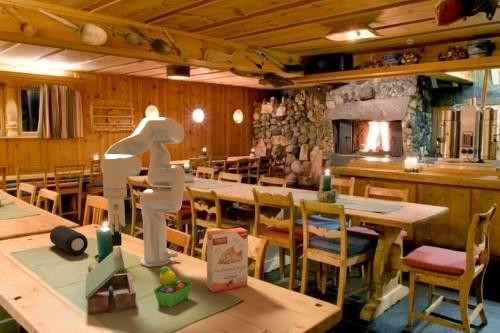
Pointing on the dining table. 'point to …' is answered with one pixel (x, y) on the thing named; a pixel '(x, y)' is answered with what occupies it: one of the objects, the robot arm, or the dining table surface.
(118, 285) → the brown brick base
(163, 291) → the green plastic basket
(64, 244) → the portable speaker
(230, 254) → the cracker box
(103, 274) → the cover
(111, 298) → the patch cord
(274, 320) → the dining table surface
